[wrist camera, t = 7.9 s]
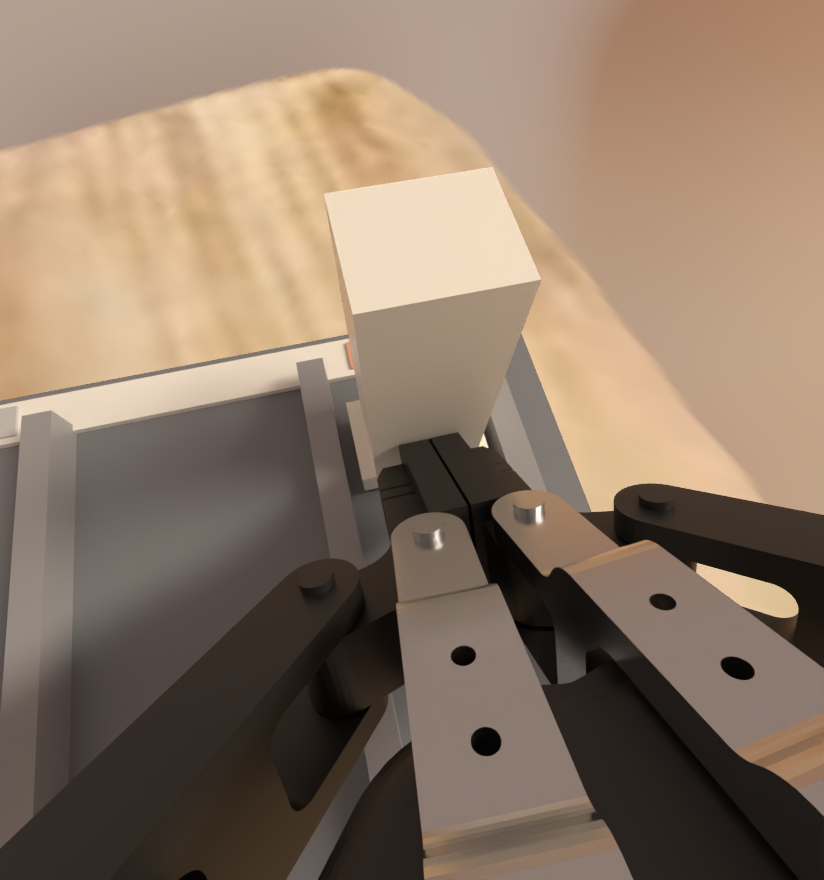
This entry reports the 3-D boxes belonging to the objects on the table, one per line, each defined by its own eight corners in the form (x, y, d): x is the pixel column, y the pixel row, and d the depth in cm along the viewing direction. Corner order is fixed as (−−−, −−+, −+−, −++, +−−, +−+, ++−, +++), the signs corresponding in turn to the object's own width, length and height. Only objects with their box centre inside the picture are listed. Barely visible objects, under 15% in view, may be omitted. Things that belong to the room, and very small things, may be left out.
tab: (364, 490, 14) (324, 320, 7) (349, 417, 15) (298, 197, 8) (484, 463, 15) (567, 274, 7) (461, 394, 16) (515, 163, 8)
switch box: (-216, 1109, 11) (-486, 1310, 8) (-103, 464, 17) (-228, 418, 14) (672, 823, 14) (763, 880, 10) (497, 344, 20) (516, 280, 16)
